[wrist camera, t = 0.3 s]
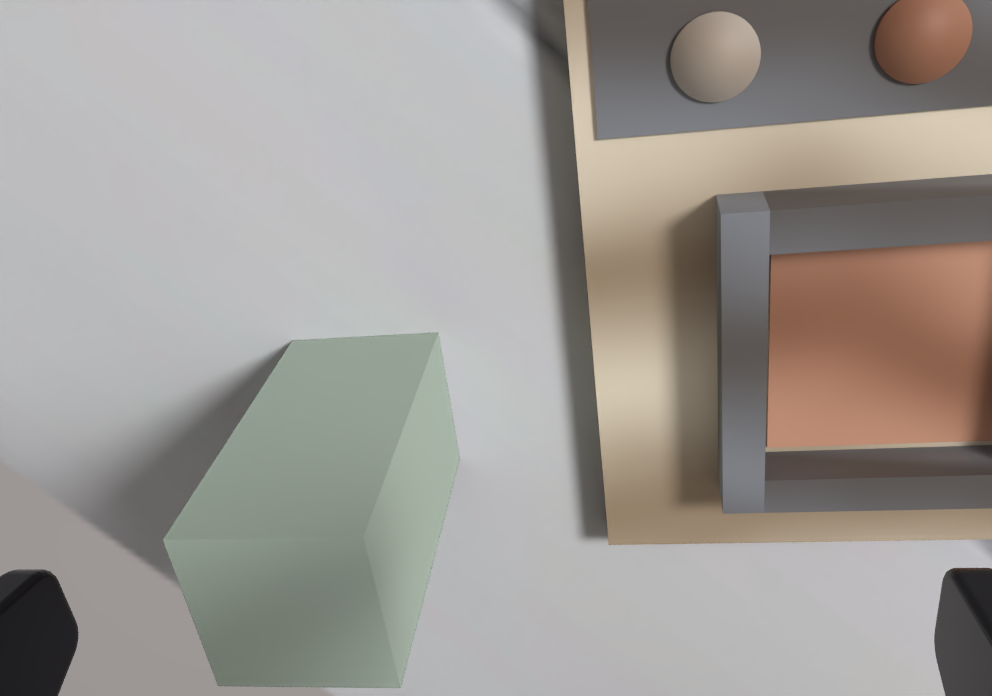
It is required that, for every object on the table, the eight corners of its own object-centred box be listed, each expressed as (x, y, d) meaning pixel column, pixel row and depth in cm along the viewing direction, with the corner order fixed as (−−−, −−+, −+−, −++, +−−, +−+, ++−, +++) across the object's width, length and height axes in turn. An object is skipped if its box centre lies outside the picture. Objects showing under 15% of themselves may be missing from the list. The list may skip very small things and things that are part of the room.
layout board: (1106, 516, 24) (1144, 569, 22) (608, 525, 26) (608, 575, 24) (1261, -118, 17) (1334, -113, 15) (562, -36, 19) (557, -22, 17)
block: (460, 458, 26) (400, 688, 19) (324, 461, 26) (217, 686, 19) (438, 332, 24) (363, 536, 17) (292, 340, 24) (162, 540, 18)
